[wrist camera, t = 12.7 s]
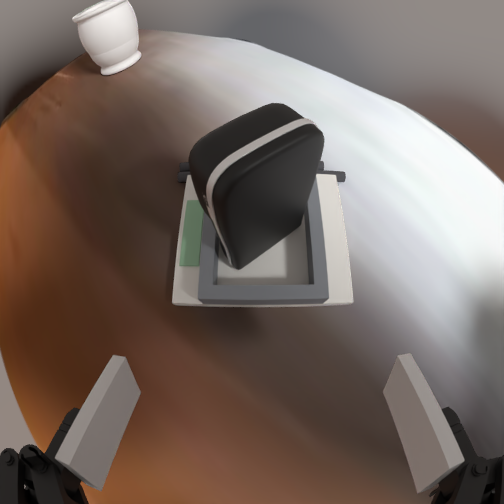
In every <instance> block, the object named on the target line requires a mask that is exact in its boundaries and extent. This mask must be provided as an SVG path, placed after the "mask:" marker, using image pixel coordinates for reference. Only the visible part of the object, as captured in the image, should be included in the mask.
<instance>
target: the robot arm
mask: <svg viewBox="0 0 504 504" xmlns="http://www.w3.org/2000/svg"><path fill="white" fill-rule="evenodd" d="M140 394H141V391H140V389H139V387H138V385H137V383H136V380H135V378H134V376H133V373H132V371H131V369H130V366H129V364H128V362H127V359H126V357H123V356H116V355H113V356H112V358H111V359H110V361H109V362H108V364H107V366H106V367H105V369H104V370H103V372H102V374H101V375H100V377H99V379H98V380H97V382H96V384H95V385H94V387H93V389H92V390H91V392H90V394H89V395H88V397H87V399H86V401H85V402H84V404H83V406H82V408H81V409H77V408H73V409H72V410H71V411H70V412H68V413H67V415H66V416H65V418H64V420H63V421H62V424H61V425H60V427H59V430H57V432H56V434H55V436H54V438H53V439H52V441H51V443H50V445H49V447H48V449H47V451H46V452H45V453H43V452H42V451H41V450H40V449H39V448H38V447H37V446H34V445H26V446H24V447H23V448H22V449H21V450H20V453H19V454H18V453H17V452H16V451H15V450H14V449H11V448H6V449H5V450H3V451H2V453H1V455H0V504H89V503H88V501H87V498H86V496H85V493H84V491H83V488H82V486H81V485H80V483H81V481H83V482H84V483H85V484H87V485H88V486H90V487H93V488H95V489H97V490H100V491H102V488H103V485H104V483H105V480H106V477H107V475H108V472H109V469H110V467H111V464H112V461H113V459H114V456H115V454H116V451H117V449H118V446H119V444H120V441H121V439H122V436H123V434H124V431H125V429H126V427H127V424H128V422H129V419H130V417H131V415H132V412H133V410H134V408H135V405H136V403H137V401H138V398H139V396H140ZM383 394H384V396H385V399H386V401H387V404H388V407H389V409H390V412H391V415H392V417H393V420H394V423H395V425H396V428H397V431H398V434H399V437H400V440H401V443H402V445H403V448H404V451H405V454H406V458H407V461H408V464H409V467H410V470H411V473H412V477H413V480H414V484H415V487H416V491H417V494H418V493H420V492H423V491H425V490H428V489H430V488H432V487H434V486H435V485H436V484H438V483H439V487H438V488H437V489H435V490H434V491H433V492H431V494H430V495H429V496H430V497H431V496H432V495H434V494H435V493H436V494H435V496H434V498H433V500H432V502H431V504H504V455H503V456H502V457H499V458H495V459H490V460H486V459H485V458H483V457H478V456H477V455H476V453H475V451H474V449H473V447H472V445H471V443H470V440H469V438H468V436H467V434H466V432H465V430H463V429H464V428H463V426H462V424H460V420H459V418H458V416H457V414H456V413H455V412H454V411H453V410H452V409H451V408H449V407H446V408H444V409H441V408H440V406H439V404H438V402H437V400H436V398H435V396H434V394H433V393H432V391H431V389H430V387H429V385H428V383H427V381H426V380H425V378H424V376H423V374H422V372H421V371H420V369H419V367H418V365H417V364H416V362H415V360H414V358H413V357H412V355H411V353H408V354H403V355H397V358H396V361H395V363H394V366H393V368H392V371H391V373H390V376H389V378H388V381H387V383H386V385H385V388H384V390H383ZM24 484H25V485H26V487H25V489H24ZM494 489H495V490H494Z"/></svg>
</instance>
